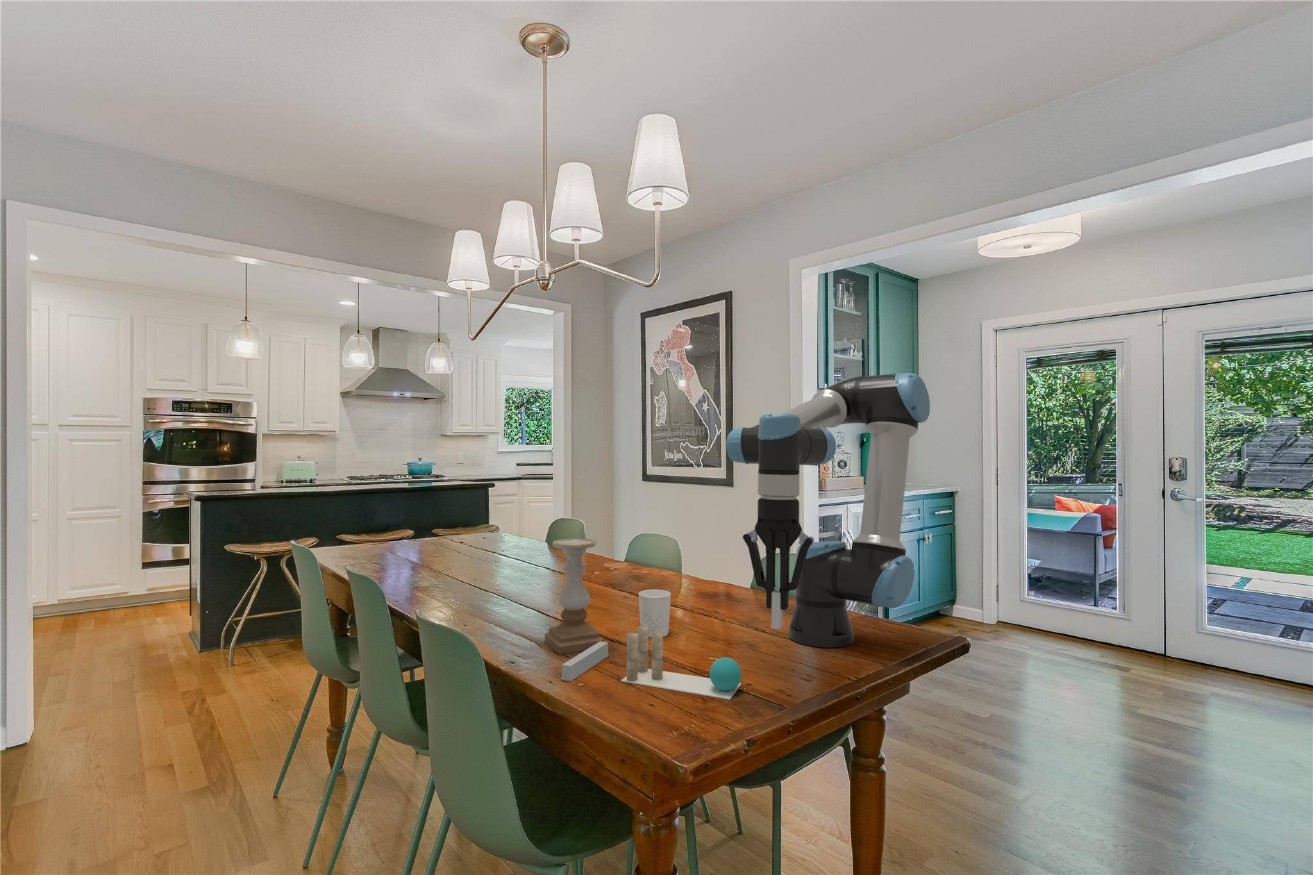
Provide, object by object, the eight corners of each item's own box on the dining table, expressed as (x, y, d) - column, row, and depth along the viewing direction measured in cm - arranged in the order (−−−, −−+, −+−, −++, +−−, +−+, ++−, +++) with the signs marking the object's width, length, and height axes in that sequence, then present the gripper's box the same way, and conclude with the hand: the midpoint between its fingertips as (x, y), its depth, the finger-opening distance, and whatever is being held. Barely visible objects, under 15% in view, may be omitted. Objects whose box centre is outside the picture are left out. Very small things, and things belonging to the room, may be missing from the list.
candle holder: (558, 655, 137) (559, 546, 137) (543, 641, 146) (544, 539, 147) (604, 647, 142) (605, 543, 142) (587, 634, 152) (588, 536, 152)
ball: (744, 686, 119) (745, 655, 119) (736, 698, 114) (736, 665, 114) (714, 682, 121) (715, 651, 122) (705, 693, 116) (705, 661, 116)
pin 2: (649, 670, 128) (649, 626, 128) (645, 674, 126) (645, 629, 126) (639, 669, 128) (640, 625, 129) (635, 672, 126) (635, 628, 126)
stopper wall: (608, 656, 136) (608, 642, 136) (570, 681, 121) (570, 666, 121) (600, 654, 137) (600, 641, 137) (561, 679, 122) (561, 664, 122)
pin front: (664, 677, 124) (664, 632, 124) (660, 681, 122) (660, 635, 122) (654, 676, 124) (654, 631, 125) (649, 680, 122) (650, 634, 123)
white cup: (671, 629, 156) (672, 589, 156) (669, 639, 148) (669, 597, 148) (640, 628, 157) (640, 589, 157) (636, 638, 149) (636, 596, 149)
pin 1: (639, 678, 123) (639, 633, 123) (634, 682, 121) (635, 636, 121) (629, 677, 124) (629, 631, 124) (624, 681, 122) (624, 635, 122)
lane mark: (741, 684, 120) (741, 683, 120) (729, 699, 113) (729, 698, 113) (637, 668, 129) (637, 667, 129) (621, 681, 122) (621, 680, 122)
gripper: (817, 497, 115) (816, 625, 115) (748, 494, 120) (747, 617, 120) (811, 500, 108) (810, 636, 108) (738, 497, 113) (736, 627, 113)
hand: (777, 626), depth 114 cm, fingers closed
